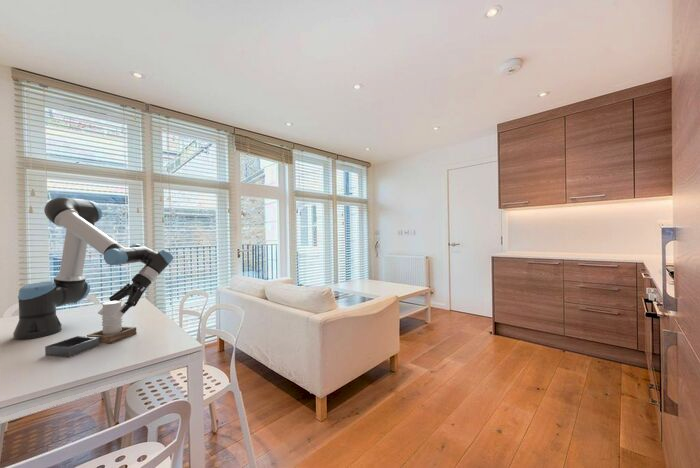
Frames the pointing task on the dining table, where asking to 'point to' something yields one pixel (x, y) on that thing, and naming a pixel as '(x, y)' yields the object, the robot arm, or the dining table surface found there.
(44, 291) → the robot arm
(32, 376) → the dining table surface
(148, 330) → the dining table surface
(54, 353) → the shallow grey tray
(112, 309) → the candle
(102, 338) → the tray
